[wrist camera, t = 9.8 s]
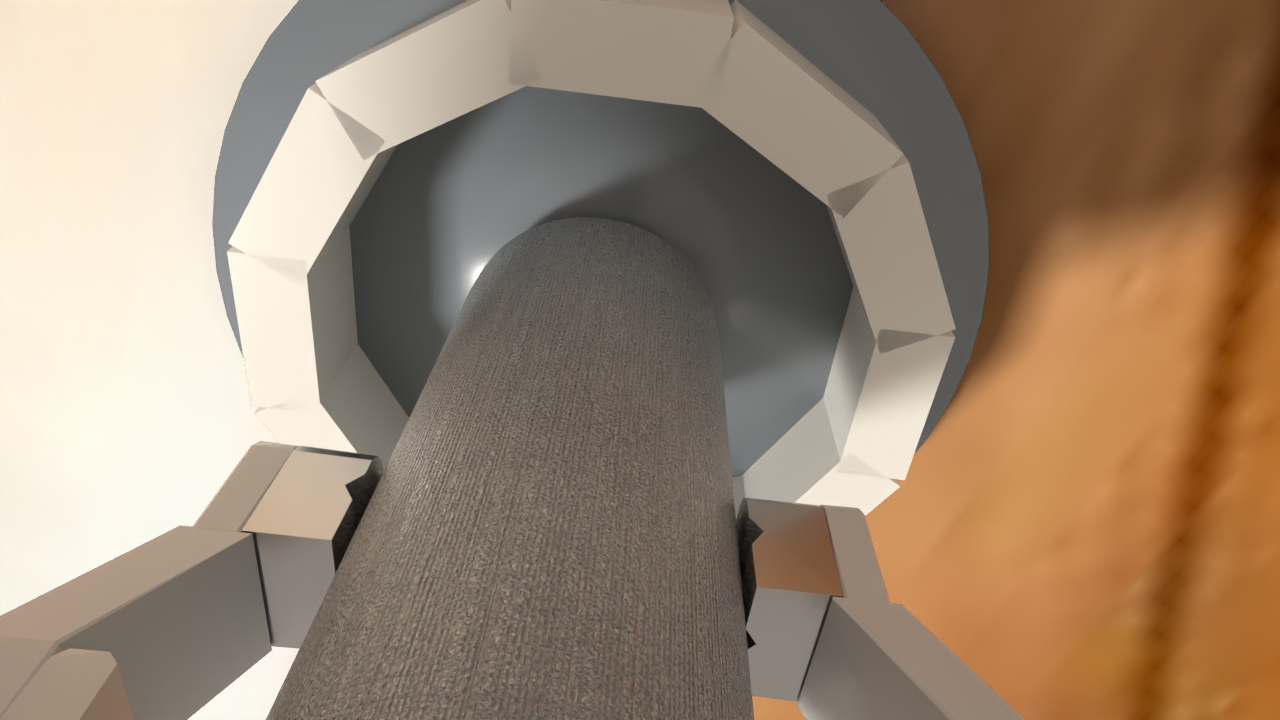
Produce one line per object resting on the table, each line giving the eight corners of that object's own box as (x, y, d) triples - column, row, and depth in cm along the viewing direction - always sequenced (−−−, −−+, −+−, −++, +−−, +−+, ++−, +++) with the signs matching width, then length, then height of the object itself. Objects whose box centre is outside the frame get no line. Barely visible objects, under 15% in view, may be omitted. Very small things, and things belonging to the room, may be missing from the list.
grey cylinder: (597, 157, 14) (450, 722, 5) (769, 343, 15) (900, 1020, 6) (415, 319, 15) (53, 962, 6) (588, 471, 17) (490, 1149, 8)
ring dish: (172, -179, 12) (51, -187, 10) (1098, -58, 13) (1196, -39, 10) (277, 527, 20) (221, 620, 17) (866, 591, 20) (893, 692, 18)
